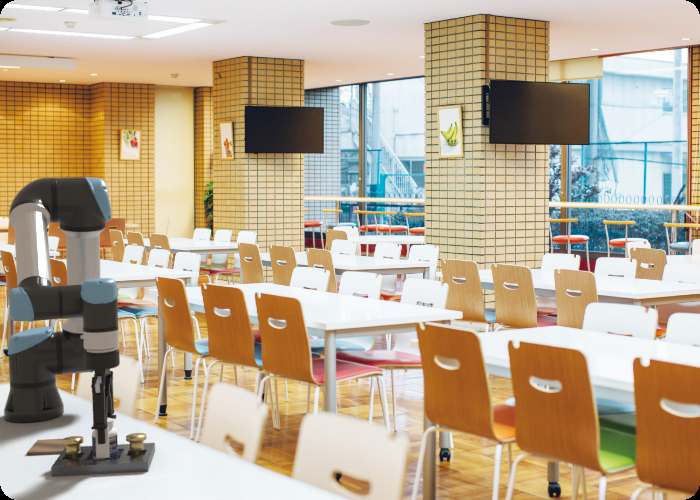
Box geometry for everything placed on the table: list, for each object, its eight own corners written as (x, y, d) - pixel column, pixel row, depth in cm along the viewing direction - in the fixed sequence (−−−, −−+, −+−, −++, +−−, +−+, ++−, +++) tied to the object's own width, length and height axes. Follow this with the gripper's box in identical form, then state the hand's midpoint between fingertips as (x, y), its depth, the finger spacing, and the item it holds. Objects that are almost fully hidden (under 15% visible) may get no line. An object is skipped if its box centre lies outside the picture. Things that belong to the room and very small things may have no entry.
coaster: (37, 442, 202) (37, 439, 201) (80, 440, 203) (80, 437, 203) (26, 455, 192) (26, 452, 192) (72, 452, 193) (71, 450, 193)
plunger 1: (65, 453, 186) (64, 436, 186) (85, 452, 186) (85, 435, 186) (61, 459, 182) (60, 442, 181) (81, 458, 182) (81, 441, 182)
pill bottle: (111, 467, 182) (109, 423, 181) (88, 466, 183) (86, 422, 182) (122, 460, 187) (121, 417, 186) (100, 458, 188) (98, 416, 188)
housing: (65, 455, 191) (65, 447, 191) (155, 451, 193) (154, 442, 193) (51, 476, 177) (51, 467, 177) (148, 471, 179) (147, 461, 179)
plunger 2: (128, 450, 188) (127, 433, 187) (148, 449, 188) (147, 432, 188) (125, 456, 183) (124, 439, 183) (145, 455, 184) (145, 438, 184)
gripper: (91, 342, 192) (95, 441, 194) (75, 358, 174) (79, 467, 175) (125, 341, 193) (128, 440, 194) (112, 356, 175) (116, 465, 176)
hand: (105, 452), depth 185 cm, fingers closed on pill bottle, 5 cm apart
